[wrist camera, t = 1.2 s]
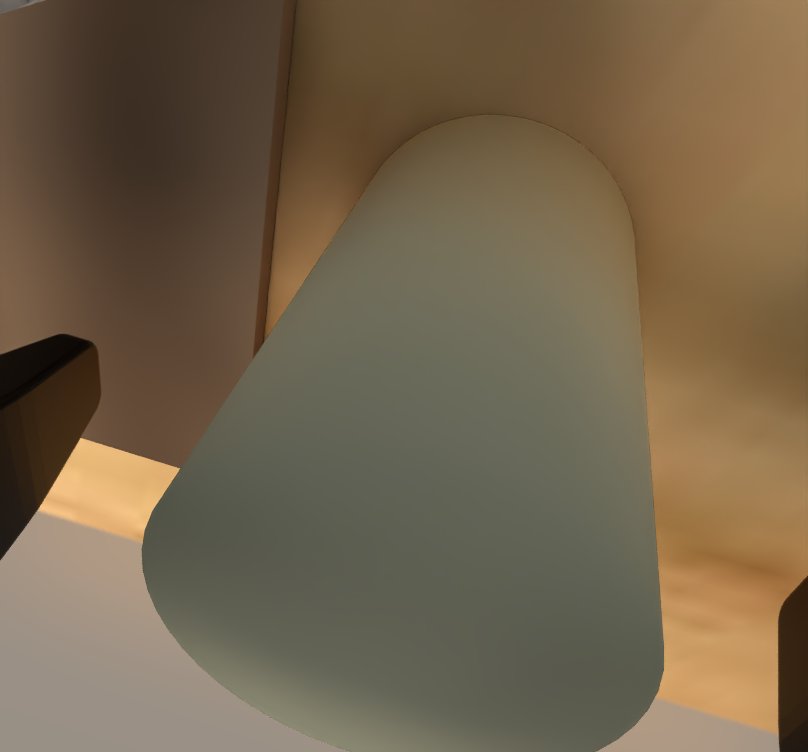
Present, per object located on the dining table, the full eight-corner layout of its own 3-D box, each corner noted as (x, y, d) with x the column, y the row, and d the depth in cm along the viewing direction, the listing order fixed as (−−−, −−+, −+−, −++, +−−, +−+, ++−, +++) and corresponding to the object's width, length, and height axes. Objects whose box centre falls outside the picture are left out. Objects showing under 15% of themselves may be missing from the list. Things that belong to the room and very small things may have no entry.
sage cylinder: (698, 251, 12) (794, 684, 6) (499, 407, 15) (427, 810, 9) (476, 46, 11) (314, 322, 5) (307, 258, 14) (71, 599, 8)
